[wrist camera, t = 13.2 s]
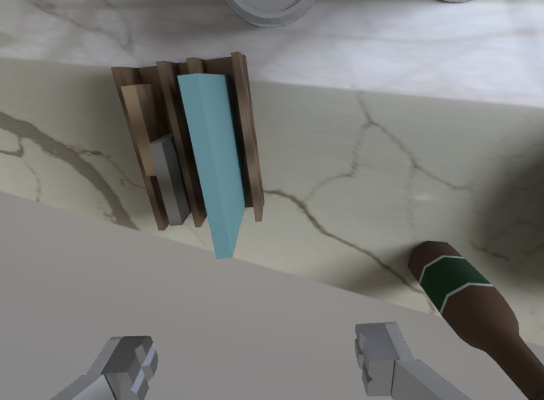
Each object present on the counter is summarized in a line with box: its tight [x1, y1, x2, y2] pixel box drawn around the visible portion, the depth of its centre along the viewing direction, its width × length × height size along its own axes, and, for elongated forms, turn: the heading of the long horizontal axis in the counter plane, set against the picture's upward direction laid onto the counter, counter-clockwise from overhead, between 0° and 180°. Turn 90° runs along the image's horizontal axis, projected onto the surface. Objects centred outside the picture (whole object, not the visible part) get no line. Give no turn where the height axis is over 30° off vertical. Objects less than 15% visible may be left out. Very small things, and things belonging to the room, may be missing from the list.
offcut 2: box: [148, 132, 191, 226], centre depth 37 cm, size 10×2×8 cm, turn 6°
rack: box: [111, 52, 264, 230], centre depth 38 cm, size 20×14×6 cm
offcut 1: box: [121, 84, 170, 176], centre depth 35 cm, size 10×2×6 cm, turn 6°
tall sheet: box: [177, 73, 248, 259], centre depth 32 cm, size 16×2×16 cm, turn 6°
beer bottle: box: [408, 241, 544, 400], centre depth 37 cm, size 8×8×24 cm
